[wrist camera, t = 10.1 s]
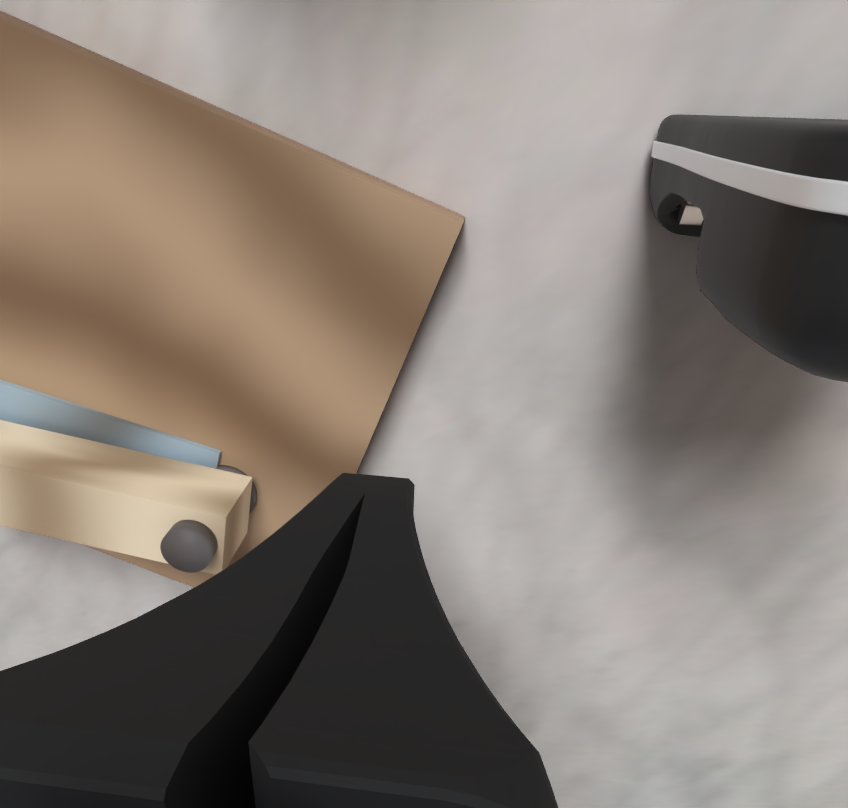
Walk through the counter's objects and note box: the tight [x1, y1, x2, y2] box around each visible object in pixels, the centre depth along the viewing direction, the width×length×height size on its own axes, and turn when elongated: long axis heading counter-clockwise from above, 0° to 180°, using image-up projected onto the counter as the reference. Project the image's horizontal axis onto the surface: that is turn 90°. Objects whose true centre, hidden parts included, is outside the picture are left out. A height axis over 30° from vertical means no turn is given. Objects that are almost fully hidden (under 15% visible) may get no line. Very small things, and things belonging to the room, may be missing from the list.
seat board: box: [0, 11, 465, 588], centre depth 22 cm, size 17×15×2 cm
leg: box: [0, 420, 252, 575], centre depth 22 cm, size 11×2×3 cm, turn 79°
